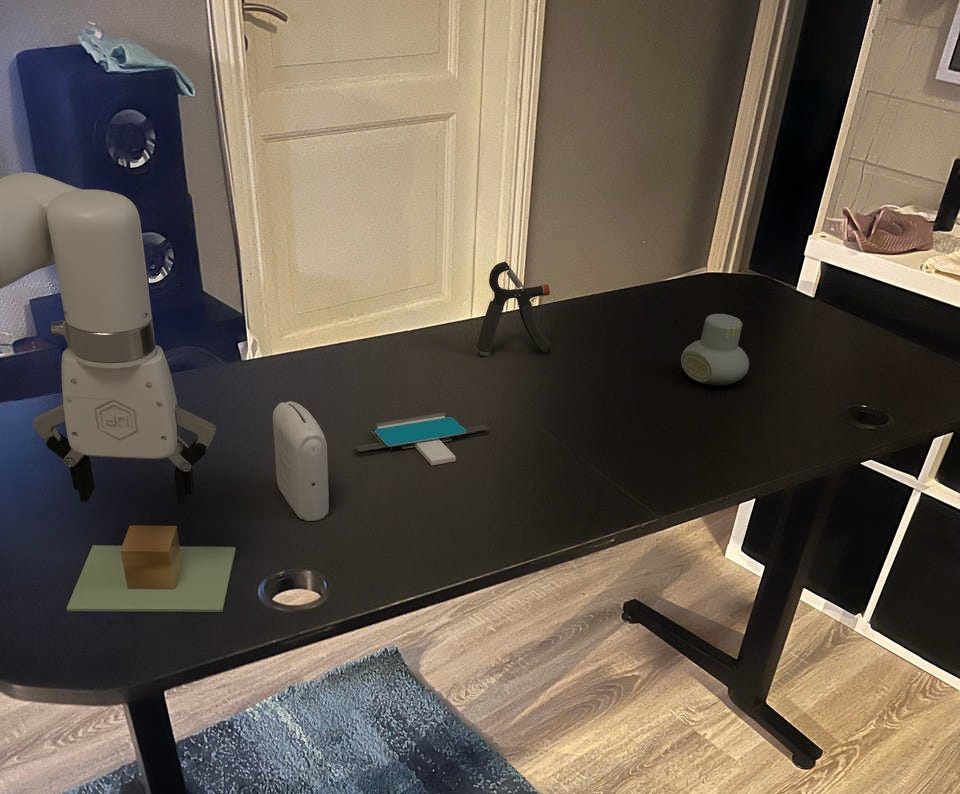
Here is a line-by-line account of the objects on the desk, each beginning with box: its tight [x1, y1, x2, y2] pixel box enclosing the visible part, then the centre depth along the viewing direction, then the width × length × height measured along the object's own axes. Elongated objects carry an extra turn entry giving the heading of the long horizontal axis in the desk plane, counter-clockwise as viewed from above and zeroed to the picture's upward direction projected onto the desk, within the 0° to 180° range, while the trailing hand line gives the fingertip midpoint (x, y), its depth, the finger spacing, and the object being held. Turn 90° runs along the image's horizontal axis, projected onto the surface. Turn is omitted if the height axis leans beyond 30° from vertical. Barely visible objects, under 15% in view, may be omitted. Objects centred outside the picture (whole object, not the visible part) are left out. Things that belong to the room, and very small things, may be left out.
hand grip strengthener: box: [476, 261, 552, 353], centre depth 158 cm, size 2×13×15 cm, turn 103°
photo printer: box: [272, 400, 330, 522], centre depth 118 cm, size 10×4×12 cm, turn 28°
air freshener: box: [680, 313, 750, 386], centre depth 157 cm, size 11×8×10 cm
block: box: [120, 524, 182, 589], centre depth 105 cm, size 5×5×5 cm
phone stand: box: [354, 411, 490, 466], centre depth 135 cm, size 20×12×2 cm, turn 117°
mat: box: [65, 544, 237, 613], centre depth 107 cm, size 16×12×1 cm
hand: (136, 496), depth 101 cm, fingers open, 9 cm apart
